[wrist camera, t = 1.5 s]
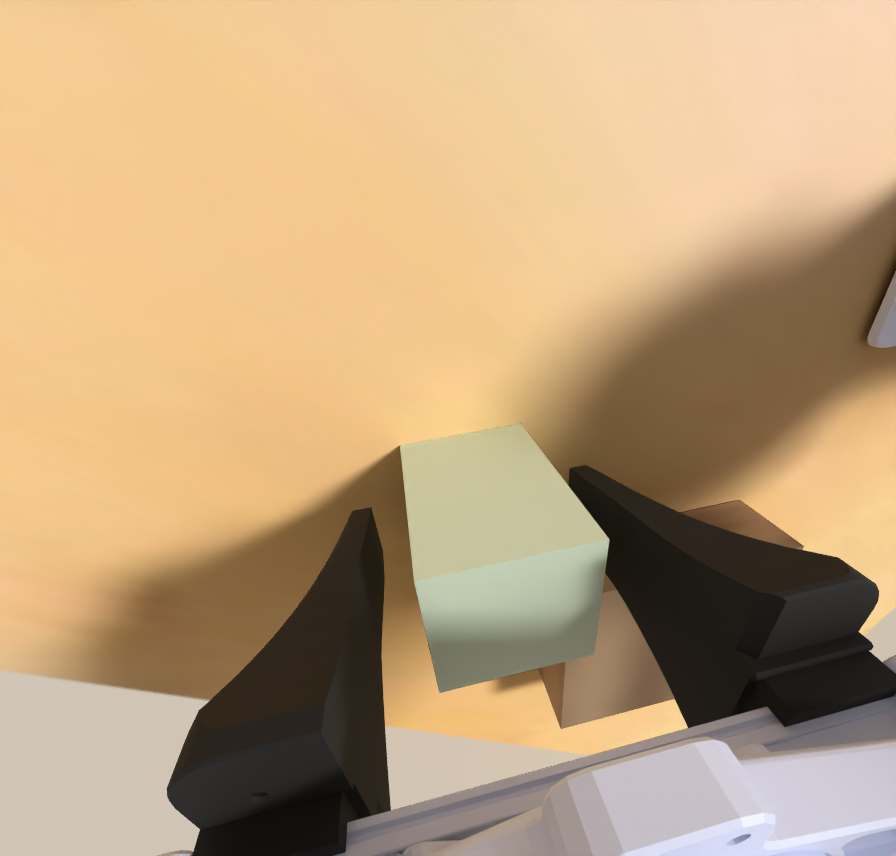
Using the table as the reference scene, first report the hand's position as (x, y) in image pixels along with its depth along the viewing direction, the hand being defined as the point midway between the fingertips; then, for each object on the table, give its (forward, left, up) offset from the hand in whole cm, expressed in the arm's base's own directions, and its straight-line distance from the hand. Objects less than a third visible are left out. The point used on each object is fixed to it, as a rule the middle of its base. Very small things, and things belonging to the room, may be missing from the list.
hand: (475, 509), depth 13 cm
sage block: (0, 0, -2) cm, 2 cm away
